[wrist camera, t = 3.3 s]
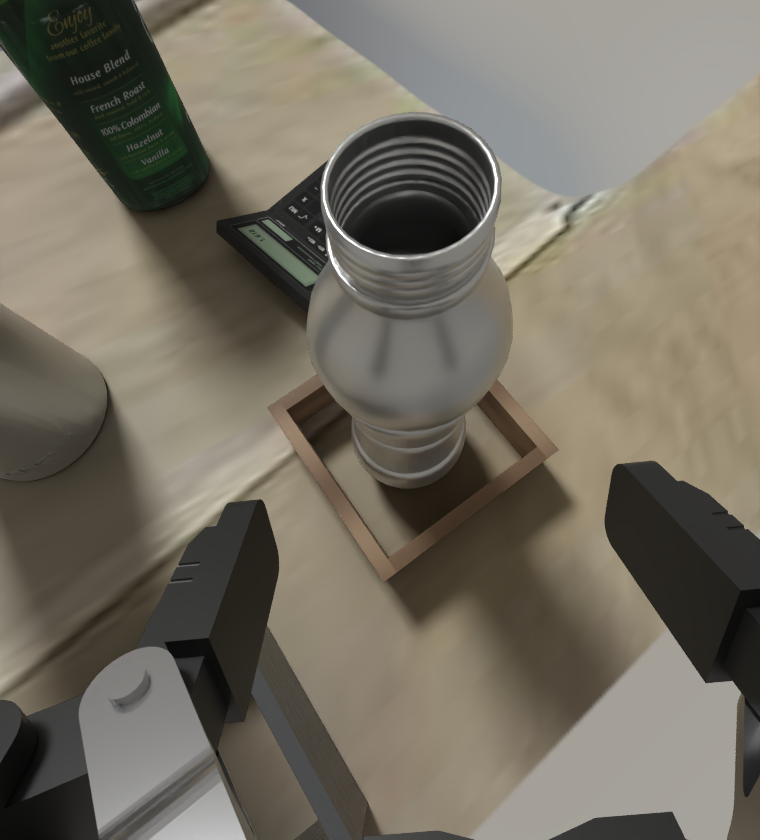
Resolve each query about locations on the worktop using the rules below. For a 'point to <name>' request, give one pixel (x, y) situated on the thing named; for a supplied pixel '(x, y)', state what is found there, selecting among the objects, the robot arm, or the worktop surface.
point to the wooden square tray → (527, 444)
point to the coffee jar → (108, 94)
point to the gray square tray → (308, 749)
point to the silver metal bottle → (410, 291)
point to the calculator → (285, 239)
